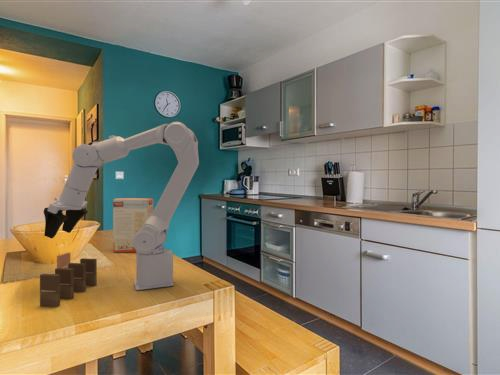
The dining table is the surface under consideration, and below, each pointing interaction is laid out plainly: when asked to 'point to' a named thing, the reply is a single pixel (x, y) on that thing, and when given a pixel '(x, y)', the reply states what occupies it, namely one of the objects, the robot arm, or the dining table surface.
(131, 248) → the cracker box
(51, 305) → the domino
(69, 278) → the domino
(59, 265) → the domino
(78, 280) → the domino
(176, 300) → the dining table surface
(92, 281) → the domino
